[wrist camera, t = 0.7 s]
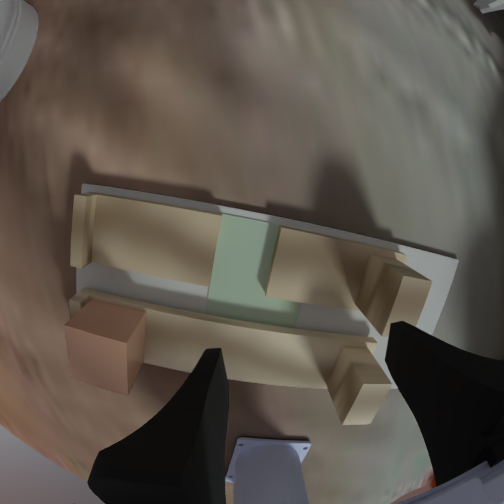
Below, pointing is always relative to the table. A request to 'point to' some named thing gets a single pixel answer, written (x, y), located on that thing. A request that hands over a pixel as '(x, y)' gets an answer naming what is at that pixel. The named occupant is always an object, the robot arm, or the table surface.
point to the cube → (106, 345)
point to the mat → (261, 276)
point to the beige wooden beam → (262, 353)
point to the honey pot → (15, 40)
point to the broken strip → (281, 269)
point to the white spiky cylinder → (489, 5)
